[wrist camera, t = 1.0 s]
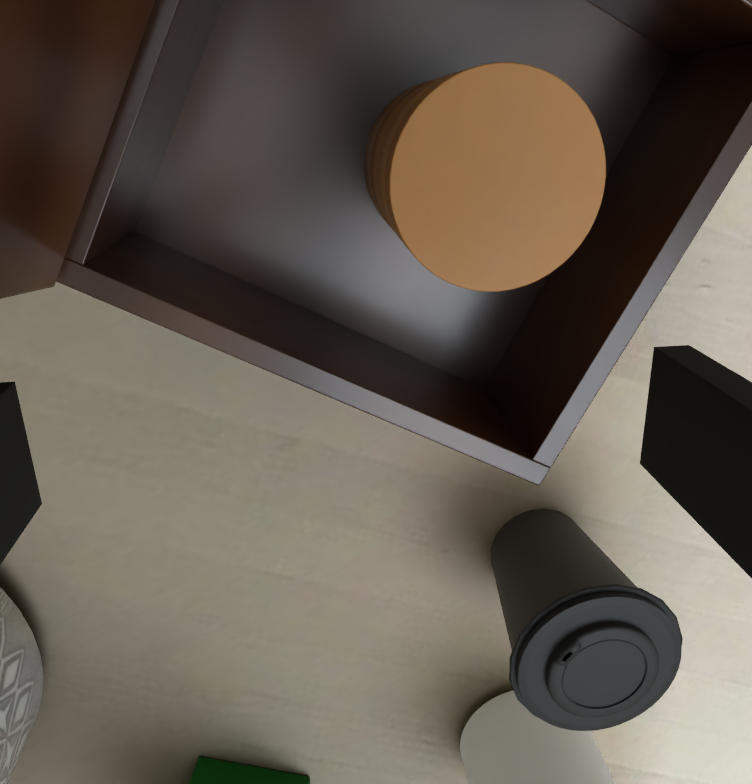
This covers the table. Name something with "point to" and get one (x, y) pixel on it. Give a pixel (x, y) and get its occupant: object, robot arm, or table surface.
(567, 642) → the coffee cup
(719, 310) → the table surface
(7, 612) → the planter
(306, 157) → the chest
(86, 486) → the table surface
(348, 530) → the table surface
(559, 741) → the beverage can
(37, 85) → the lid
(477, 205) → the cookies
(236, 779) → the milk carton
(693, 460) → the robot arm
